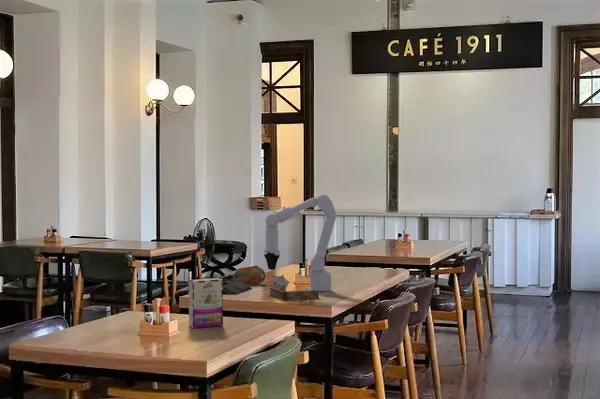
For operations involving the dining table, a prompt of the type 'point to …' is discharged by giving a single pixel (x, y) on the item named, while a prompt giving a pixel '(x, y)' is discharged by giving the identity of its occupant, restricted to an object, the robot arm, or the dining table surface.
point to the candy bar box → (205, 303)
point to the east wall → (277, 293)
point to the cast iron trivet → (234, 287)
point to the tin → (250, 275)
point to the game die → (279, 283)
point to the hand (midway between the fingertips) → (271, 269)
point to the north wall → (301, 294)
